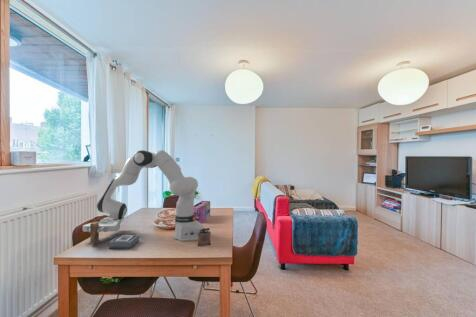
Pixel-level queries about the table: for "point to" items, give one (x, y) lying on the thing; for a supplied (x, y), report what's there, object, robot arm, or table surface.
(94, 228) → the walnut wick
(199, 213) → the gum box
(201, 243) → the lighter
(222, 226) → the table surface
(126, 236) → the grey flat square block
